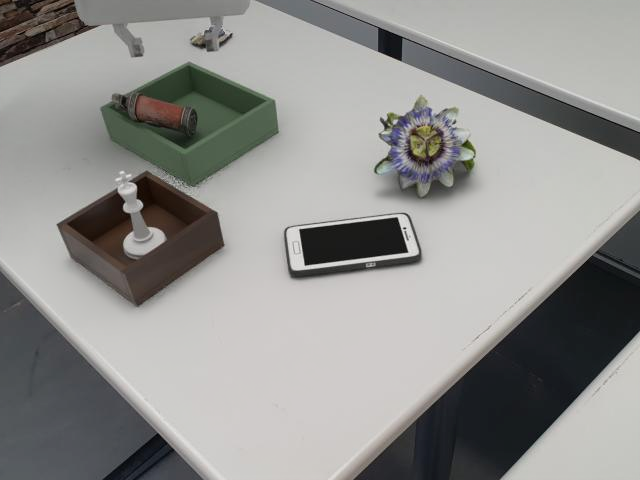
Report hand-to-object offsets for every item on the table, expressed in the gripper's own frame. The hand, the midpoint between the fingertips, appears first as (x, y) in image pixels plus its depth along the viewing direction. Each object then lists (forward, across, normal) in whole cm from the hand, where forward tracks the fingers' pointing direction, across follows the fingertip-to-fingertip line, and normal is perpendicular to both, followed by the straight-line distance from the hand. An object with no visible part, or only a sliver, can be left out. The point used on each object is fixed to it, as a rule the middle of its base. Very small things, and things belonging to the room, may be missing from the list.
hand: (175, 52), depth 86 cm
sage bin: (+12, 0, 0) cm, 12 cm away
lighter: (+8, -1, +4) cm, 9 cm away
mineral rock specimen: (+12, -1, -29) cm, 31 cm away
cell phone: (+12, -20, +26) cm, 35 cm away
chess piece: (+11, +3, +24) cm, 26 cm away
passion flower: (+12, -30, +13) cm, 35 cm away
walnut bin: (+12, +3, +24) cm, 27 cm away
